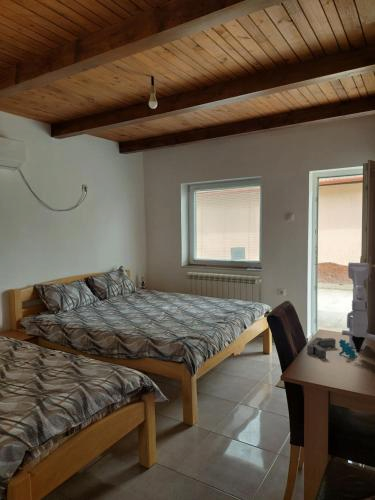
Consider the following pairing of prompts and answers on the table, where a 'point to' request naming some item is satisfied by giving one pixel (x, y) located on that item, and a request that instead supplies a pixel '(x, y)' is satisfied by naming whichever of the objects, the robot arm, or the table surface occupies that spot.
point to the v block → (320, 346)
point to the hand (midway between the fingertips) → (358, 352)
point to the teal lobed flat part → (347, 349)
